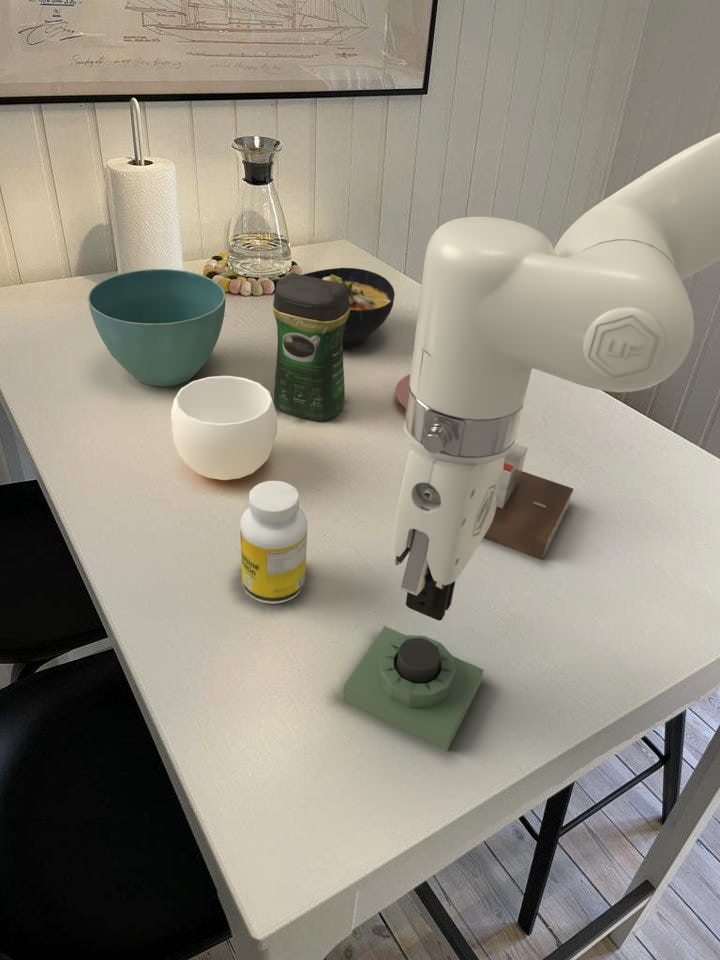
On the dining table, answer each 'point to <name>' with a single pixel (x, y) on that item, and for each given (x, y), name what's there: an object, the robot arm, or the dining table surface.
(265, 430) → the cup
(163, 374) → the teal mixing bowl
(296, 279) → the coffee jar
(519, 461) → the red-tipped white block
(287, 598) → the pill bottle
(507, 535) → the brown dial block
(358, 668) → the switch block
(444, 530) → the robot arm
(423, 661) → the button
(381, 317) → the bowl
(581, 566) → the dining table surface
